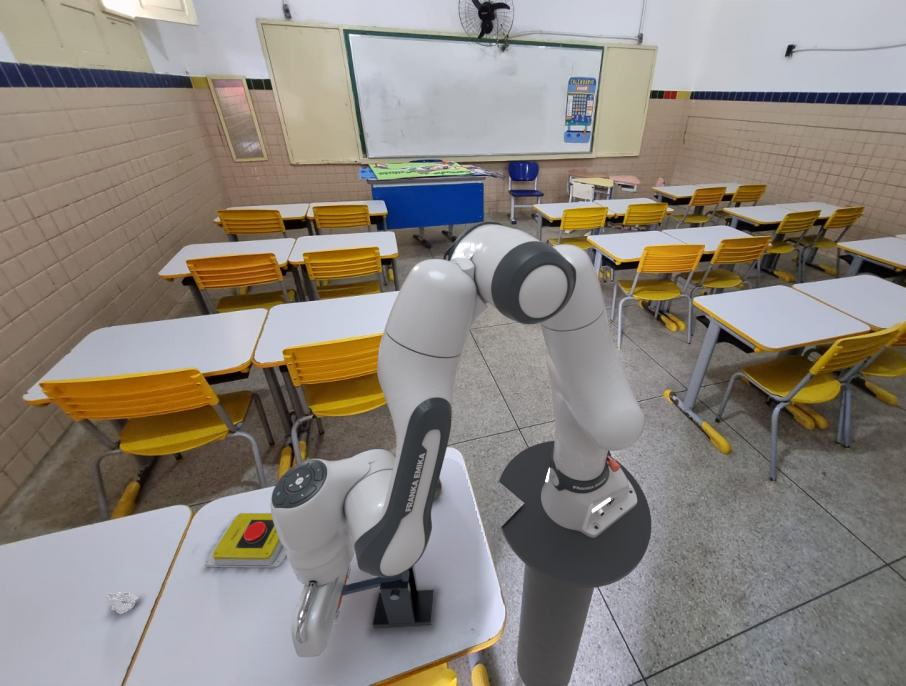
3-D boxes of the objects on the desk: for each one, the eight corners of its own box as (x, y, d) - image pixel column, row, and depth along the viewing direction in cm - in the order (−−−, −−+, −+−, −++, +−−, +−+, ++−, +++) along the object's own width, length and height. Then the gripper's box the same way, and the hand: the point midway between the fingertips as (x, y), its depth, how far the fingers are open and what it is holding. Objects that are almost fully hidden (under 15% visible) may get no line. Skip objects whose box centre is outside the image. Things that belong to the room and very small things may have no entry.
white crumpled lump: (143, 601, 68) (133, 590, 67) (135, 613, 67) (125, 602, 65) (114, 602, 68) (104, 591, 66) (105, 614, 67) (94, 604, 65)
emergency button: (275, 555, 72) (195, 554, 71) (281, 567, 74) (203, 567, 74) (297, 508, 80) (226, 508, 80) (302, 521, 82) (232, 520, 82)
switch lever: (332, 613, 62) (324, 607, 61) (341, 580, 67) (334, 573, 66) (406, 595, 61) (399, 588, 60) (411, 562, 65) (404, 555, 64)
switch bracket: (372, 632, 65) (360, 593, 59) (380, 592, 70) (370, 553, 64) (431, 628, 66) (425, 590, 59) (434, 589, 71) (429, 550, 65)
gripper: (319, 630, 49) (338, 675, 56) (362, 489, 67) (372, 535, 74) (269, 633, 49) (294, 677, 55) (325, 490, 67) (339, 537, 73)
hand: (339, 595), depth 65 cm, fingers closed on switch lever, 5 cm apart
